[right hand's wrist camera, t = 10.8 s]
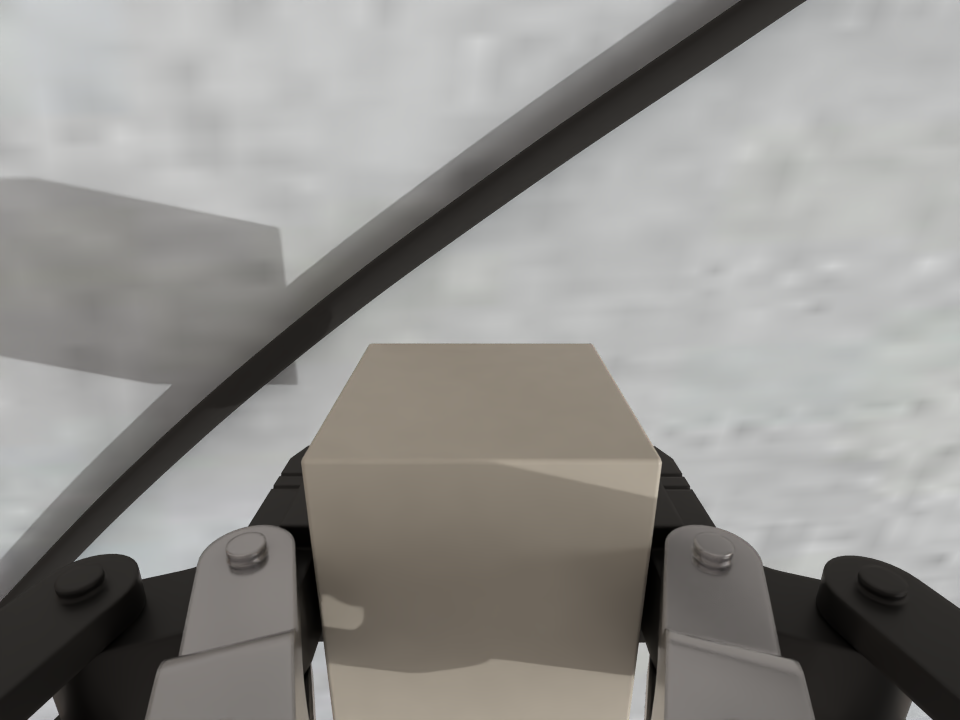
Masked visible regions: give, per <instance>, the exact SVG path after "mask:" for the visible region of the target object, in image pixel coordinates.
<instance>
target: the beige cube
mask: <svg viewBox="0 0 960 720" xmlns="http://www.w3.org/2000/svg"><path fill="white" fill-rule="evenodd" d="M301 466H302V474H303V482H304V490H305V497H306V505H307V513H308V521H309V529H310V537H311V545H312V553H313V561H314V569H315V577H316V585H317V593H318V601H319V609H320V617H321V625H322V633H323V641H324V649H325V657H326V665H327V673H328V681H329V689H330V697H331V705H332V713H333V720H629V715H630V707H631V699H632V692H633V684H634V676H635V668H636V660H637V653H638V645H639V637H640V629H641V622H642V614H643V606H644V598H645V590H646V583H647V575H648V567H649V559H650V552H651V544H652V536H653V528H654V520H655V513H656V505H657V497H658V489H659V482H660V474H661V466H662V461H661V458H660V457H659V455H658V453H657V452H656V450H655V448H654V447H653V445H652V443H651V442H650V440H649V438H648V436H647V435H646V433H645V431H644V430H643V428H642V426H641V425H640V423H639V421H638V420H637V418H636V416H635V415H634V413H633V411H632V410H631V408H630V406H629V405H628V403H627V401H626V400H625V398H624V396H623V395H622V393H621V391H620V389H619V388H618V386H617V384H616V383H615V381H614V379H613V378H612V376H611V374H610V373H609V371H608V369H607V368H606V366H605V364H604V363H603V361H602V359H601V358H600V356H599V354H598V353H597V351H596V349H595V347H594V346H593V345H592V344H370V345H369V346H368V348H367V349H366V351H365V353H364V354H363V356H362V358H361V360H360V361H359V363H358V365H357V366H356V368H355V370H354V371H353V373H352V375H351V377H350V378H349V380H348V382H347V383H346V385H345V387H344V388H343V390H342V392H341V394H340V395H339V397H338V399H337V400H336V402H335V404H334V405H333V407H332V409H331V411H330V412H329V414H328V416H327V417H326V419H325V421H324V422H323V424H322V426H321V428H320V429H319V431H318V433H317V434H316V436H315V438H314V439H313V441H312V443H311V445H310V446H309V448H308V450H307V451H306V453H305V455H304V456H303V458H302V461H301Z"/></svg>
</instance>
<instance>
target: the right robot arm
mask: <svg viewBox="0 0 960 720" xmlns="http://www.w3.org/2000/svg"><path fill="white" fill-rule="evenodd" d="M805 1H806V0H741V1H739V2H738V3H736V4H735V5H733V6H732V7H731V8H729V9H728V10H726V11H725V12H723V13H722V14H721V15H719V16H718V17H716V18H715V19H713V20H712V21H710V22H709V23H707V24H706V25H705V26H703V27H702V28H700V29H699V30H697V31H696V32H694V33H693V34H691V35H690V36H689V37H687V38H686V39H684V40H683V41H681V42H680V43H678V44H677V45H675V46H674V47H672V48H671V49H670V50H668V51H667V52H665V53H664V54H662V55H661V56H659V57H658V58H656V59H655V60H653V61H652V62H651V63H649V64H648V65H646V66H645V67H643V68H642V69H640V70H639V71H637V72H636V73H634V74H633V75H631V76H630V77H629V78H627V79H626V80H624V81H623V82H621V83H620V84H618V85H617V86H615V87H614V88H612V89H611V90H609V91H608V92H607V93H605V94H604V95H602V96H601V97H599V98H598V99H596V100H595V101H593V102H592V103H591V104H589V105H588V106H586V107H585V108H583V109H582V110H580V111H579V112H577V113H576V114H575V115H573V116H572V117H570V118H569V119H567V120H566V121H565V122H563V123H562V124H560V125H559V126H557V127H556V128H555V129H553V130H552V131H550V132H549V133H547V134H546V135H545V136H543V137H542V138H540V139H539V140H537V141H536V142H535V143H533V144H532V145H530V146H529V147H528V148H526V149H525V150H523V151H522V152H521V153H519V154H518V155H516V156H515V157H514V158H512V159H511V160H509V161H508V162H507V163H505V164H504V165H502V166H501V167H500V168H498V169H497V170H496V171H494V172H493V173H491V174H490V175H489V176H487V177H486V178H484V179H483V180H482V181H480V182H479V183H478V184H476V185H475V186H473V187H472V188H471V189H469V190H468V191H467V192H465V193H464V194H462V195H461V196H460V197H458V198H457V199H456V200H454V201H453V202H451V203H450V204H449V205H447V206H446V207H445V208H443V209H442V210H440V211H439V212H438V213H436V214H435V215H434V216H432V217H431V218H429V219H428V220H427V221H425V222H424V223H423V224H421V225H420V226H418V227H417V228H416V229H414V230H413V231H412V232H410V233H409V234H408V235H406V236H405V237H404V238H402V239H401V240H400V241H398V242H397V243H396V244H394V245H393V246H392V247H390V248H389V249H388V250H386V251H385V252H384V253H382V254H381V255H380V256H378V257H377V258H376V259H374V260H373V261H372V262H370V263H369V264H368V265H366V266H365V267H364V268H362V269H361V270H360V271H359V272H357V273H356V274H355V275H353V276H352V277H351V278H350V279H348V280H347V281H346V282H344V283H343V284H342V285H341V286H339V287H338V288H337V289H335V290H334V291H333V292H332V293H330V294H329V295H328V296H327V297H325V298H324V299H323V300H322V301H320V302H319V303H318V304H317V305H315V306H314V307H313V308H312V309H310V310H309V311H308V312H307V313H305V314H304V315H303V316H302V317H301V318H299V319H298V320H297V321H296V322H294V323H293V324H292V325H291V326H289V327H288V328H287V329H286V330H285V331H283V332H282V333H281V334H280V335H278V336H277V337H276V338H275V339H274V340H272V341H271V342H270V343H269V344H268V345H266V346H265V347H264V348H263V349H262V350H260V351H259V352H258V353H257V354H256V355H254V356H253V357H252V358H251V359H250V360H248V361H247V362H246V363H245V364H244V365H243V366H241V367H240V368H239V369H238V370H237V371H235V372H234V373H233V374H232V375H231V376H230V377H229V378H227V379H226V380H225V381H224V382H223V383H222V384H220V385H219V386H218V387H217V388H216V389H215V390H214V391H212V392H211V393H210V394H209V395H208V396H207V397H206V398H205V399H203V400H202V401H201V402H200V403H199V404H198V405H197V406H196V407H195V408H193V409H192V410H191V411H190V412H189V413H188V414H187V415H186V416H185V417H184V418H182V419H181V420H180V421H179V422H178V423H177V424H176V425H175V426H174V427H173V428H172V429H171V430H169V431H168V432H167V433H166V434H165V435H164V436H163V437H162V438H161V439H160V440H159V441H158V442H157V443H156V444H155V445H153V446H152V447H151V448H150V449H149V450H148V451H147V452H146V453H145V454H144V455H143V456H142V457H141V458H140V459H139V460H138V461H137V462H135V463H134V464H133V465H132V466H131V467H130V468H129V469H128V470H127V471H126V472H125V473H124V474H123V475H122V476H121V477H120V478H119V479H118V480H117V481H116V482H115V483H114V484H113V485H112V486H111V487H110V488H109V489H108V490H107V491H106V492H105V493H104V494H103V495H102V496H101V497H100V498H99V499H98V500H97V501H96V502H95V503H94V504H93V505H92V506H91V507H90V508H89V509H88V510H87V511H86V512H85V513H84V514H83V515H82V516H81V517H80V518H79V519H78V520H77V521H76V522H75V523H74V524H73V525H72V526H71V527H70V528H69V529H68V530H67V531H66V533H65V534H64V535H63V536H62V537H61V538H60V539H59V540H58V541H57V542H56V543H55V544H54V545H53V546H52V547H51V548H50V550H49V551H48V552H47V553H46V554H45V555H44V556H43V557H42V558H41V559H40V560H39V561H38V562H37V563H36V564H35V566H34V567H33V568H32V569H31V570H30V571H29V572H28V573H27V574H26V575H25V576H24V577H23V578H22V579H21V580H20V581H19V583H18V584H17V585H16V586H15V587H14V588H13V589H12V590H11V591H10V592H9V593H8V594H7V595H6V596H5V598H4V599H3V600H2V601H1V602H0V720H27V719H29V718H30V717H31V716H32V715H33V714H34V713H35V712H36V711H37V710H38V709H39V708H41V707H42V706H43V705H44V704H45V703H46V702H47V701H48V700H49V699H50V698H51V697H53V699H54V702H55V704H56V707H57V710H58V713H59V715H58V716H57V717H56V718H55V719H54V720H316V714H315V697H314V681H313V670H312V663H311V662H312V660H313V657H314V654H315V651H316V648H317V645H318V642H323V633H322V625H321V617H320V609H319V601H318V593H317V585H316V577H315V569H314V561H313V553H312V545H311V537H310V529H309V521H308V513H307V505H306V497H305V490H304V482H303V474H302V466H301V461H302V458H303V456H304V455H305V453H306V451H307V450H308V448H309V446H307V447H306V448H305V449H303V450H302V451H300V452H299V453H297V454H296V455H295V456H293V457H292V458H291V459H290V460H289V462H288V463H287V465H286V467H285V468H284V470H283V471H282V473H281V476H279V478H278V479H277V481H276V483H275V484H274V488H273V489H271V491H270V492H269V494H268V495H267V497H266V499H265V500H264V502H263V503H262V505H261V507H260V508H259V510H258V511H257V513H256V515H255V516H254V518H253V519H252V521H251V523H250V524H249V526H248V527H244V528H240V529H237V530H234V531H232V532H230V533H227V534H225V535H223V536H222V537H220V538H218V539H217V540H215V541H214V542H212V543H211V544H210V545H209V546H208V547H207V548H206V549H205V550H204V551H203V553H202V554H201V556H200V558H199V560H198V564H197V567H194V568H191V569H187V570H183V571H179V572H174V573H169V574H165V575H160V576H155V577H151V578H146V579H141V575H140V571H139V567H138V565H137V563H136V562H135V560H134V559H132V558H130V557H128V556H125V555H120V554H104V555H97V556H92V557H88V558H84V559H81V560H78V561H75V560H76V559H77V558H78V557H79V556H80V555H81V554H82V552H83V551H84V550H85V549H86V548H87V547H88V546H89V545H90V544H91V543H92V542H93V541H94V540H95V539H96V538H97V537H98V536H99V535H100V534H101V533H102V532H103V531H104V530H105V529H106V528H107V527H108V526H109V525H110V524H111V523H112V522H113V521H114V520H115V519H116V518H117V517H118V516H119V515H120V514H121V513H122V512H124V511H125V510H126V509H127V508H128V507H129V506H130V505H131V504H132V503H133V502H134V501H135V500H136V499H137V498H138V497H139V496H140V495H141V494H142V493H143V492H144V491H146V490H147V489H148V488H149V487H150V486H151V485H152V484H153V483H154V482H155V481H156V480H157V479H158V478H160V477H161V476H162V475H163V474H164V473H165V472H166V471H167V470H168V469H169V468H170V467H171V466H173V465H174V464H175V463H176V462H177V461H178V460H179V459H180V458H181V457H182V456H184V455H185V454H186V453H187V452H188V451H189V450H190V449H191V448H192V447H193V446H195V445H196V444H197V443H198V442H199V441H200V440H201V439H202V438H204V437H205V436H206V435H207V434H208V433H209V432H210V431H211V430H213V429H214V428H215V427H216V426H217V425H218V424H219V423H221V422H222V421H223V420H224V419H225V418H226V417H227V416H229V415H230V414H231V413H232V412H233V411H234V410H236V409H237V408H238V407H239V406H240V405H241V404H243V403H244V402H245V401H246V400H247V399H249V398H250V397H251V396H252V395H253V394H254V393H256V392H257V391H258V390H259V389H261V388H262V387H263V386H264V385H265V384H267V383H268V382H269V381H270V380H271V379H273V378H274V377H275V376H276V375H278V374H279V373H280V372H281V371H282V370H284V369H285V368H286V367H287V366H289V365H290V364H291V363H292V362H294V361H295V360H296V359H297V358H299V357H300V356H301V355H302V354H304V353H305V352H306V351H307V350H309V349H310V348H311V347H312V346H314V345H315V344H316V343H317V342H319V341H320V340H321V339H322V338H324V337H325V336H326V335H328V334H329V333H330V332H331V331H333V330H334V329H335V328H336V327H338V326H339V325H340V324H342V323H343V322H344V321H345V320H347V319H348V318H349V317H351V316H352V315H353V314H355V313H356V312H357V311H358V310H360V309H361V308H362V307H364V306H365V305H366V304H368V303H369V302H370V301H372V300H373V299H374V298H376V297H377V296H378V295H380V294H381V293H382V292H384V291H385V290H386V289H388V288H389V287H390V286H392V285H393V284H394V283H396V282H397V281H398V280H400V279H401V278H402V277H404V276H405V275H406V274H408V273H409V272H411V271H412V270H413V269H415V268H416V267H417V266H419V265H420V264H422V263H423V262H424V261H426V260H427V259H429V258H430V257H431V256H433V255H434V254H436V253H437V252H438V251H440V250H441V249H442V248H444V247H445V246H447V245H448V244H449V243H451V242H452V241H454V240H455V239H456V238H458V237H459V236H461V235H462V234H464V233H465V232H466V231H468V230H469V229H471V228H472V227H473V226H475V225H476V224H478V223H479V222H480V221H482V220H483V219H485V218H486V217H488V216H489V215H490V214H492V213H493V212H495V211H496V210H497V209H499V208H500V207H502V206H503V205H505V204H506V203H507V202H509V201H510V200H512V199H513V198H514V197H516V196H517V195H519V194H520V193H522V192H523V191H524V190H526V189H527V188H529V187H530V186H532V185H533V184H534V183H536V182H537V181H539V180H540V179H542V178H543V177H544V176H546V175H547V174H549V173H550V172H552V171H553V170H555V169H556V168H557V167H559V166H560V165H562V164H563V163H565V162H566V161H568V160H569V159H571V158H572V157H573V156H575V155H576V154H578V153H579V152H581V151H582V150H584V149H585V148H587V147H588V146H590V145H591V144H593V143H594V142H596V141H597V140H599V139H600V138H601V137H603V136H604V135H606V134H607V133H609V132H610V131H612V130H613V129H615V128H616V127H618V126H619V125H621V124H622V123H624V122H625V121H627V120H628V119H630V118H631V117H633V116H634V115H636V114H637V113H639V112H640V111H642V110H643V109H645V108H646V107H648V106H649V105H651V104H652V103H654V102H655V101H657V100H658V99H660V98H661V97H663V96H664V95H666V94H667V93H669V92H670V91H672V90H673V89H675V88H676V87H678V86H679V85H681V84H682V83H684V82H685V81H687V80H688V79H690V78H691V77H693V76H694V75H696V74H697V73H699V72H700V71H702V70H703V69H705V68H706V67H708V66H709V65H711V64H712V63H714V62H715V61H717V60H718V59H720V58H721V57H723V56H724V55H726V54H727V53H729V52H730V51H732V50H733V49H735V48H736V47H738V46H739V45H741V44H742V43H743V42H745V41H746V40H748V39H749V38H751V37H752V36H754V35H755V34H757V33H758V32H760V31H761V30H763V29H764V28H766V27H767V26H769V25H770V24H772V23H773V22H775V21H776V20H778V19H779V18H780V17H782V16H783V15H785V14H786V13H788V12H789V11H791V10H792V9H794V8H795V7H797V6H799V5H800V4H802V3H803V2H805ZM653 447H654V448H655V450H656V452H657V453H658V455H659V457H660V458H661V461H662V466H661V474H660V482H659V489H658V497H657V505H656V513H655V520H654V528H653V536H652V544H651V552H650V559H649V567H648V575H647V583H646V590H645V598H644V606H643V614H642V622H641V629H640V637H639V642H646V645H647V648H648V651H649V654H650V656H649V663H648V671H647V681H646V697H645V714H644V720H906V716H907V713H908V711H909V708H910V705H911V703H912V701H913V702H914V703H915V704H916V705H917V706H918V707H919V708H921V709H922V710H923V711H924V712H925V713H926V714H927V715H928V716H929V717H930V718H931V719H933V720H960V608H958V607H957V606H955V605H954V604H953V603H951V602H950V601H948V600H947V599H945V598H944V597H943V596H941V595H940V594H938V593H937V592H936V591H934V590H933V589H931V588H930V587H928V586H927V585H926V584H924V583H923V582H921V581H920V580H919V579H917V578H915V577H914V576H912V575H911V574H909V573H907V572H905V571H903V570H902V569H900V568H897V567H895V566H893V565H891V564H888V563H885V562H882V561H879V560H876V559H872V558H867V557H862V556H840V557H836V558H833V559H831V560H830V561H828V562H827V563H826V565H825V567H824V570H823V574H822V577H821V580H819V579H814V578H810V577H805V576H800V575H796V574H791V573H786V572H782V571H778V570H774V569H771V568H768V567H765V566H763V564H762V560H761V558H760V556H759V554H758V553H757V551H756V550H755V549H754V548H753V547H752V546H751V545H750V544H749V543H748V542H746V541H745V540H743V539H742V538H740V537H738V536H737V535H735V534H733V533H730V532H728V531H726V530H723V529H720V528H716V526H715V525H714V523H713V522H712V520H711V519H710V517H709V515H708V514H707V512H706V511H705V509H704V507H703V506H702V504H701V503H700V501H699V500H698V498H697V496H696V495H695V493H694V492H693V490H692V489H690V485H689V484H688V482H687V481H686V479H685V477H682V473H681V471H680V470H679V468H678V466H677V465H676V463H675V462H674V460H673V459H672V458H671V457H669V456H668V455H667V454H665V453H664V452H662V451H661V450H659V449H658V448H657V447H655V446H653ZM74 561H75V562H74Z"/></svg>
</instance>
